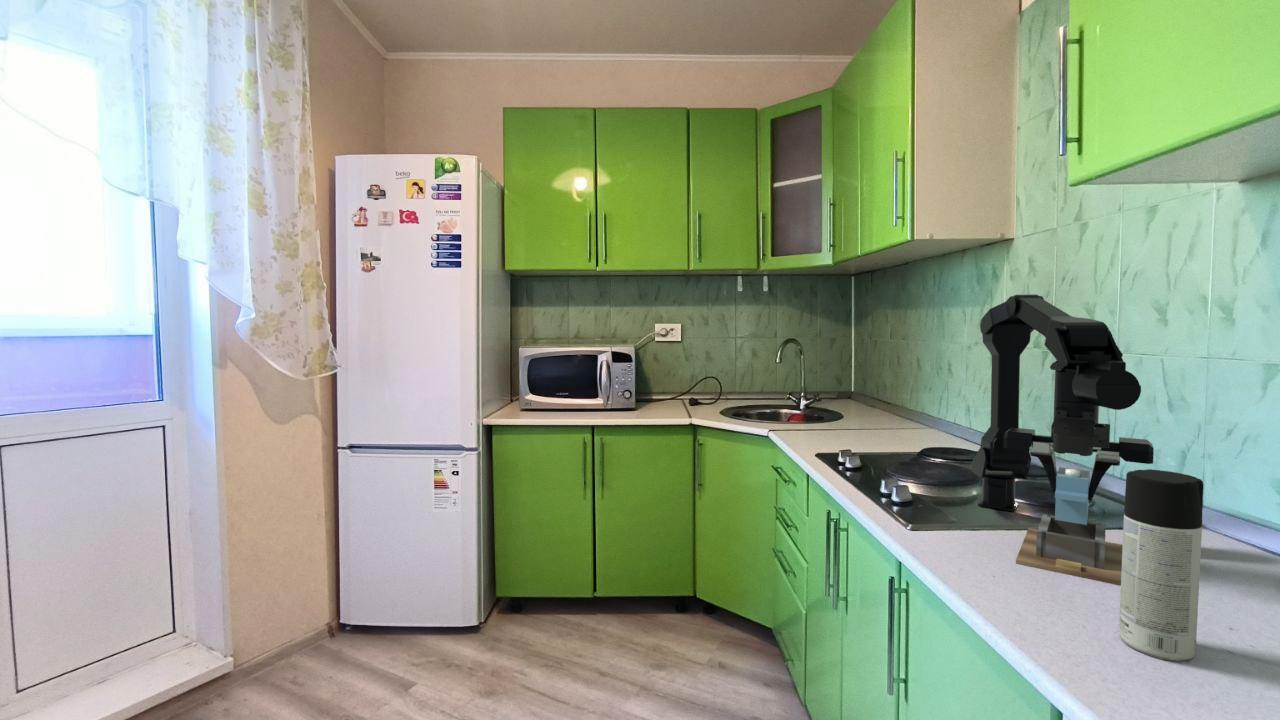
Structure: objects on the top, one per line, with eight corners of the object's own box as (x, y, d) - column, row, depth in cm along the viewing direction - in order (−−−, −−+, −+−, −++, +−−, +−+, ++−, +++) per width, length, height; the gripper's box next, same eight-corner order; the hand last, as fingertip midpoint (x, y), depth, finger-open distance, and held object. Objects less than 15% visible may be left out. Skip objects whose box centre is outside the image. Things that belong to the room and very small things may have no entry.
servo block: (1058, 505, 99) (1060, 458, 99) (1088, 509, 97) (1090, 462, 96) (1053, 523, 90) (1055, 472, 90) (1086, 529, 88) (1088, 476, 87)
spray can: (1211, 657, 65) (1220, 480, 64) (1168, 668, 63) (1177, 485, 62) (1144, 628, 71) (1151, 466, 70) (1103, 636, 69) (1110, 470, 68)
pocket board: (1028, 531, 105) (1029, 506, 104) (1122, 548, 97) (1123, 521, 96) (1015, 563, 91) (1016, 534, 90) (1124, 586, 83) (1125, 554, 82)
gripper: (1000, 401, 92) (997, 499, 93) (1158, 412, 80) (1153, 523, 81) (1009, 394, 100) (1006, 483, 101) (1153, 403, 89) (1148, 503, 90)
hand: (1072, 497), depth 93 cm, fingers closed on servo block, 4 cm apart
